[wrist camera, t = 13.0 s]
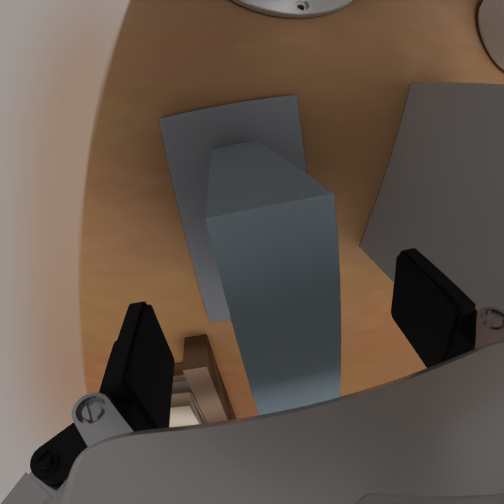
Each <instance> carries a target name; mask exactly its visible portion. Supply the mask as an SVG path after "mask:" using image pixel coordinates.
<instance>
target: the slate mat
mask: <svg viewBox="0 0 504 504" xmlns="http://www.w3.org/2000/svg"><path fill="white" fill-rule="evenodd" d="M159 124H160V129H161V133H162V138H163V143H164V148H165V152H166V157H167V161H168V166H169V170H170V175H171V179H172V183H173V187H174V192H175V196H176V200H177V204H178V208H179V212H180V216H181V220H182V224H183V228H184V232H185V236H186V240H187V244H188V247H189V251H190V255H191V259H192V262H193V266H194V270H195V273H196V277H197V280H198V284H199V287H200V291H201V294H202V298H203V301H204V305H205V308H206V312H207V315H208V318H209V322H210V323H211V322H216V321H222V320H227V319H231V317H230V313H229V310H228V306H227V302H226V298H225V294H224V291H223V287H222V283H221V279H220V275H219V271H218V268H217V264H216V260H215V256H214V252H213V248H212V244H211V240H210V236H209V232H208V228H207V223H206V219H205V217H206V204H207V193H208V181H209V171H210V160H211V150H212V149H215V148H220V147H225V146H230V145H235V144H240V143H246V142H251V141H259V142H261V143H262V144H264V145H265V146H267V147H268V148H270V149H271V150H273V151H274V152H276V153H277V154H279V155H280V156H282V157H283V158H285V159H286V160H288V161H289V162H291V163H292V164H294V165H295V166H296V167H298V168H299V169H301V170H302V171H304V172H305V173H306V174H307V169H306V161H305V153H304V145H303V138H302V130H301V123H300V116H299V109H298V102H297V96H296V95H289V96H280V97H272V98H264V99H257V100H250V101H244V102H238V103H232V104H226V105H220V106H215V107H210V108H205V109H200V110H195V111H190V112H186V113H181V114H177V115H173V116H169V117H165V118H161V119H159Z"/></svg>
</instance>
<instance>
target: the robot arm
mask: <svg viewBox="0 0 504 504" xmlns="http://www.w3.org/2000/svg"><path fill="white" fill-rule="evenodd" d="M232 1H234V2H235V3H237V4H239V5H241V6H244V7H246V8H248V9H251V10H253V11H256V12H260V13H263V14H267V15H271V16H277V17H284V18H311V17H318V16H323V15H326V14H329V13H333V12H336V11H337V10H339V9H341V8H343V7H345V6H347V5H348V4H349V3H351V2H352V1H353V0H232ZM297 6H301V7H302V8H303V10H300V9H299V8H298V7H297ZM475 306H476V304H475V303H474V302H473V301H472V300H471V299H470V298H469V297H468V296H467V295H466V294H465V293H464V292H463V291H462V290H461V289H460V288H459V287H458V286H457V285H455V284H454V283H453V282H452V281H451V280H450V279H449V278H448V277H447V276H446V275H445V274H444V273H443V272H442V271H440V270H439V269H438V268H437V267H436V266H435V265H434V264H433V263H432V262H430V261H429V260H428V259H427V258H426V257H425V256H424V255H423V254H421V253H420V252H419V251H418V250H417V249H415V248H411V249H407V250H402V251H401V252H400V254H399V255H398V256H397V258H396V269H395V280H394V290H393V299H392V308H391V314H392V317H393V319H394V321H395V322H396V324H397V325H398V326H399V328H400V329H401V331H402V332H403V333H404V335H405V336H406V338H407V339H408V341H409V342H410V344H411V345H412V346H413V348H414V349H415V351H416V352H417V354H418V355H419V357H420V358H421V360H422V361H423V363H424V364H425V366H426V367H427V368H426V369H424V370H421V371H419V372H416V373H413V374H410V375H408V376H405V377H402V378H399V379H396V380H393V381H391V382H388V383H385V384H381V385H378V386H375V387H372V388H369V389H366V390H362V391H359V392H356V393H352V394H349V395H345V396H342V397H338V398H334V399H331V400H327V401H323V402H319V403H315V404H311V405H306V406H302V407H298V408H293V409H289V410H284V411H279V412H274V413H269V414H264V415H258V416H252V417H247V418H240V419H234V420H227V421H220V422H212V423H205V424H197V425H188V426H179V427H169V424H170V411H171V398H172V386H173V375H174V358H173V355H172V353H171V350H170V348H169V346H168V344H167V341H166V339H165V337H164V334H163V332H162V330H161V327H160V325H159V322H158V320H157V318H156V315H155V313H154V310H153V308H152V306H151V305H147V304H146V302H138V303H132V304H130V305H129V307H128V310H127V313H126V316H125V319H124V322H123V325H122V328H121V331H120V334H119V337H118V340H117V341H116V342H115V343H114V345H113V348H112V351H111V354H110V357H109V361H108V364H107V367H106V370H105V374H104V377H103V381H102V384H101V388H100V391H99V393H90V394H87V395H85V396H83V397H82V398H80V399H79V400H78V401H77V403H76V404H75V405H74V408H73V410H72V418H73V421H74V423H72V424H71V425H70V426H68V427H67V428H66V429H64V430H63V431H62V432H60V433H59V434H57V435H56V436H55V437H53V438H52V439H50V440H49V441H48V442H47V443H45V444H44V445H42V446H41V447H39V448H38V449H37V450H36V451H35V452H34V454H33V456H32V458H31V462H30V468H31V473H30V474H27V473H25V474H24V475H23V477H22V478H21V479H20V480H19V482H18V483H17V484H16V485H15V487H14V488H13V489H12V490H11V492H10V493H9V494H8V496H7V497H6V498H5V499H4V501H3V502H2V503H1V504H504V310H502V309H500V308H497V307H492V306H487V307H483V308H481V309H480V310H479V311H477V310H476V309H475Z"/></svg>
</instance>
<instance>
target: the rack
mask: <svg viewBox="0 0 504 504" xmlns="http://www.w3.org/2000/svg"><path fill="white" fill-rule="evenodd" d="M182 370H183V373H184V375H185V377H186V379H187V382H188V384H189V386H190V388H191V390H192V392H193V395H194V397H195V399H196V401H197V403H198V405H199V407H200V409H201V411H202V413H203V415H204V417H205V419H206V421H207V423H212V422H220V421H227V420H234V419H236V417H235V414H234V412H233V409H232V406H231V404H230V401H229V398H228V395H227V393H226V390H225V387H224V384H223V381H222V378H221V376H220V373H219V370H218V367H217V364H216V361H215V358H214V355H213V352H212V349H211V346H210V343H209V340H208V337H207V335H202V336H196V337H190V338H185V344H184V356H183V369H182Z"/></svg>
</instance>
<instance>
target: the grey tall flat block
mask: <svg viewBox="0 0 504 504" xmlns="http://www.w3.org/2000/svg"><path fill="white" fill-rule="evenodd" d="M360 247H361V248H362V249H363V250H364V251H365V253H366V254H367V255H368V256H369V257H370V258H371V259H372V260H373V261H374V262H375V263H376V264H377V265H378V266H379V267H380V268H381V269H382V270H383V271H384V273H385V274H386V275H387V276H388V277H389V278H390V279H391V280H392V281H393V282H394V280H395V269H396V258H397V256H398V255H399V254H400V252H401V251H402V250H407V249H411V248H415V249H417V250H418V251H419V252H420V253H421V254H423V255H424V256H425V257H426V258H427V259H428V260H429V261H430V262H432V263H433V264H434V265H435V266H436V267H437V268H438V269H439V270H440V271H442V272H443V273H444V274H445V275H446V276H447V277H448V278H449V279H450V280H451V281H452V282H453V283H454V284H455V285H457V286H458V287H459V288H460V289H461V290H462V291H463V292H464V293H465V294H466V295H467V296H468V297H469V298H470V299H471V300H472V301H473V302H474V303H475V304H476V306H475V309H476V310H477V311H479V310H480V309H481V308H483V307H487V306H492V307H497V308H500V309H502V310H504V85H500V84H484V83H412V84H411V85H410V89H409V93H408V97H407V101H406V105H405V109H404V112H403V116H402V120H401V123H400V127H399V130H398V134H397V137H396V141H395V144H394V147H393V151H392V154H391V157H390V160H389V164H388V167H387V170H386V173H385V176H384V179H383V182H382V185H381V188H380V191H379V194H378V197H377V200H376V203H375V205H374V208H373V211H372V214H371V217H370V219H369V222H368V225H367V227H366V230H365V233H364V235H363V238H362V241H361V243H360Z"/></svg>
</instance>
